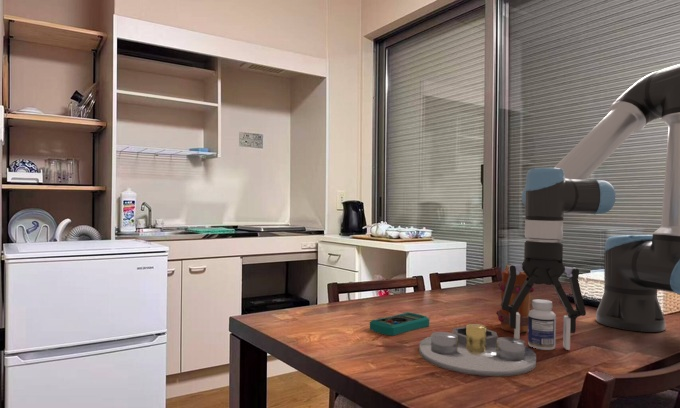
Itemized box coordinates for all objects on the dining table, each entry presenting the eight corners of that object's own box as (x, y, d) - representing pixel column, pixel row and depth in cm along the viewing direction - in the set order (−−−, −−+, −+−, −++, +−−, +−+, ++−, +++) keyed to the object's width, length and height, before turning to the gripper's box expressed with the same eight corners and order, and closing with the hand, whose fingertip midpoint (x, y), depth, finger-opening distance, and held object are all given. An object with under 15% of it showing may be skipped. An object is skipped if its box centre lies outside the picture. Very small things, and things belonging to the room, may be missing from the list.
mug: (536, 337, 107) (538, 271, 107) (499, 334, 109) (500, 269, 109) (524, 321, 121) (525, 264, 122) (492, 319, 123) (493, 262, 123)
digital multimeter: (367, 331, 110) (367, 319, 110) (407, 322, 120) (407, 310, 120) (390, 338, 105) (390, 325, 105) (430, 328, 115) (430, 316, 115)
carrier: (526, 345, 100) (527, 317, 100) (546, 382, 79) (546, 347, 79) (422, 336, 105) (423, 310, 105) (415, 368, 84) (415, 336, 84)
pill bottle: (532, 341, 103) (533, 297, 103) (558, 346, 100) (559, 301, 100) (524, 346, 99) (525, 301, 99) (551, 352, 96) (552, 304, 96)
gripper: (594, 241, 101) (592, 345, 101) (488, 237, 106) (486, 336, 106) (605, 243, 93) (603, 356, 93) (491, 239, 99) (489, 346, 98)
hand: (541, 345), depth 99 cm, fingers open, 9 cm apart
